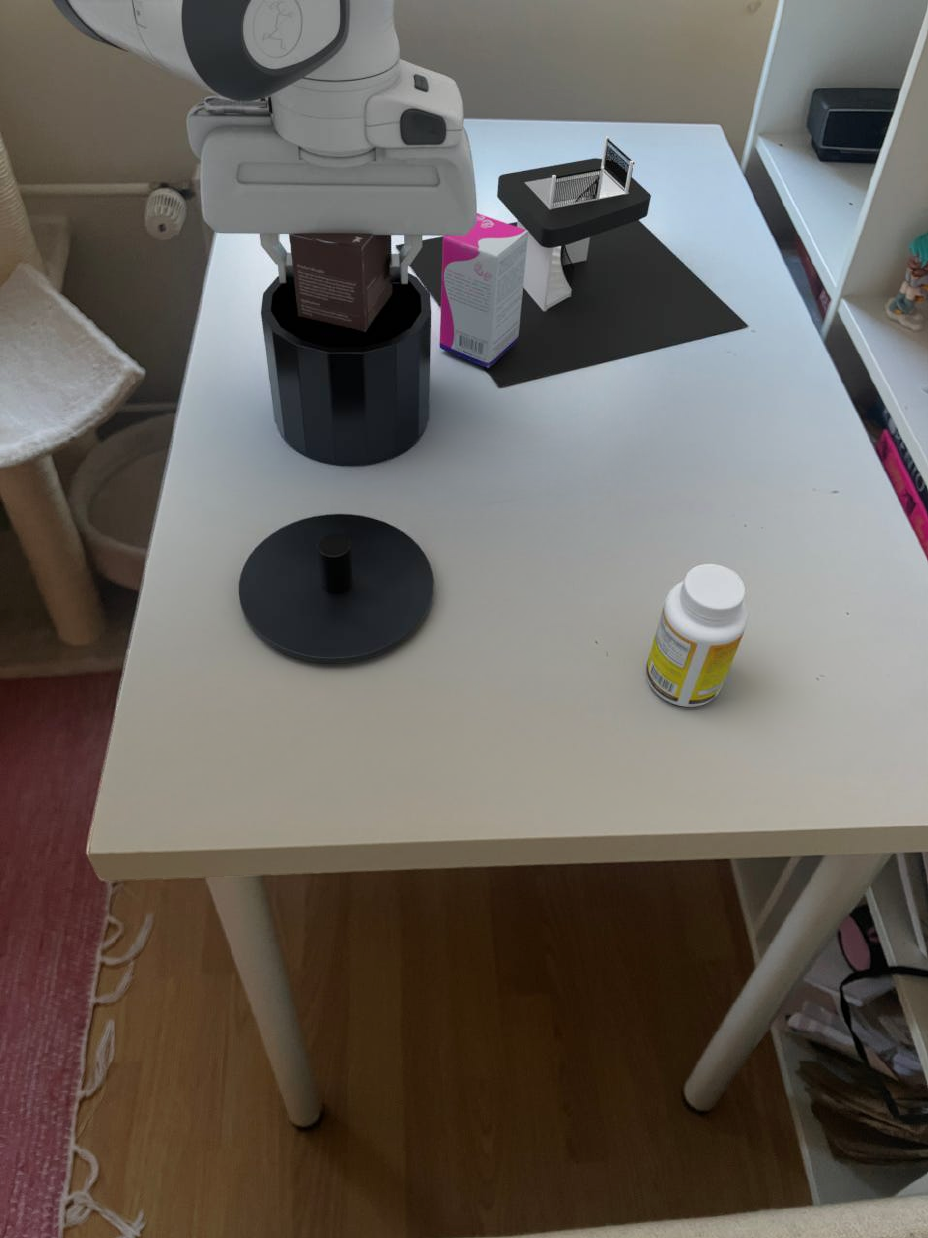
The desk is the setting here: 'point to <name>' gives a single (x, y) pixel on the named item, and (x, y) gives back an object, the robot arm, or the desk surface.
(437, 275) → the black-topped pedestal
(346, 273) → the box
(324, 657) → the bin lid
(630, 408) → the desk surface
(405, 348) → the trash can
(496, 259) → the supplement box
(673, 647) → the supplement bottle
